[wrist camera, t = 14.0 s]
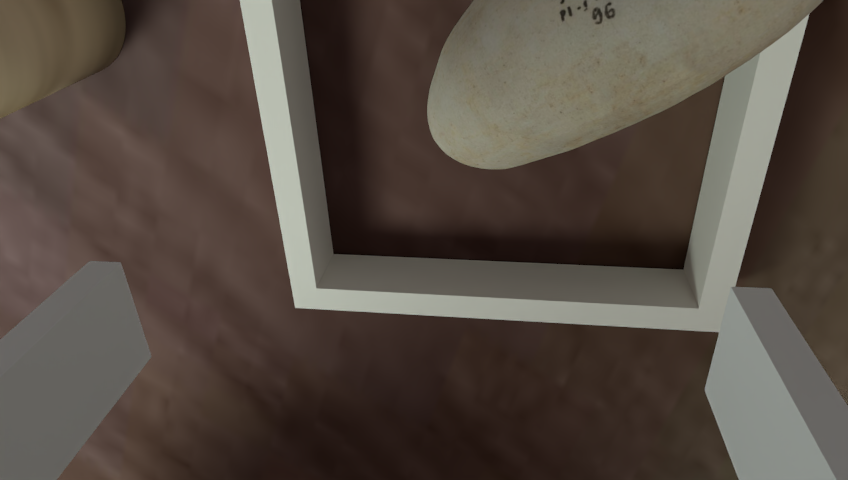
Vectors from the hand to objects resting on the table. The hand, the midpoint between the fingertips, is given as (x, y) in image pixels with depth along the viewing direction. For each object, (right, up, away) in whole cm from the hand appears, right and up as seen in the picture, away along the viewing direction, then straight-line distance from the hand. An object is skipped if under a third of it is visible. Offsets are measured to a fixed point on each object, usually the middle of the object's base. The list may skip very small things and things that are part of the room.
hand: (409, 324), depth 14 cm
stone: (+2, +6, +8) cm, 10 cm away
